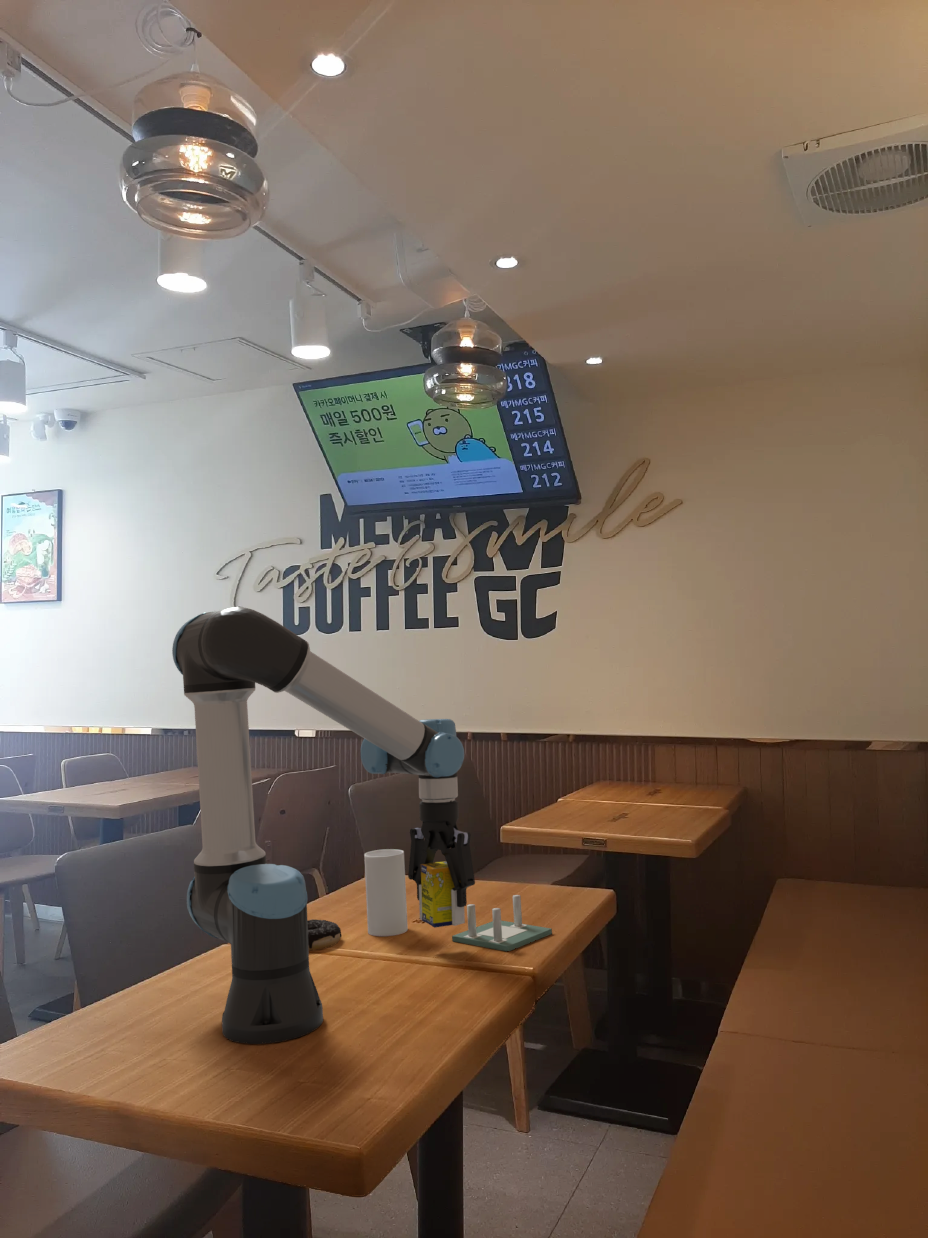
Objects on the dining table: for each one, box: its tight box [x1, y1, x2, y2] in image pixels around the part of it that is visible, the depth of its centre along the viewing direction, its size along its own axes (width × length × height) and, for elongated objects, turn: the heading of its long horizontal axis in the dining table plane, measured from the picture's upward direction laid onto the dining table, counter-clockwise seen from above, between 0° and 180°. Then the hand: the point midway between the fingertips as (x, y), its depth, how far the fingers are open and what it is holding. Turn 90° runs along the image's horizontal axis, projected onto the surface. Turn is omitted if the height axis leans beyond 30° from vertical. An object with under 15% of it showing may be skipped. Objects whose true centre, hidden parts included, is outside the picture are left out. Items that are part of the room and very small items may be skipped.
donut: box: [307, 919, 343, 952], centre depth 193 cm, size 11×12×4 cm
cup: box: [363, 848, 409, 937], centre depth 199 cm, size 8×8×16 cm
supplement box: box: [421, 860, 454, 928], centre depth 183 cm, size 6×6×11 cm
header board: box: [451, 894, 553, 952], centre depth 189 cm, size 14×14×7 cm
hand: (442, 921), depth 182 cm, fingers closed on supplement box, 8 cm apart
